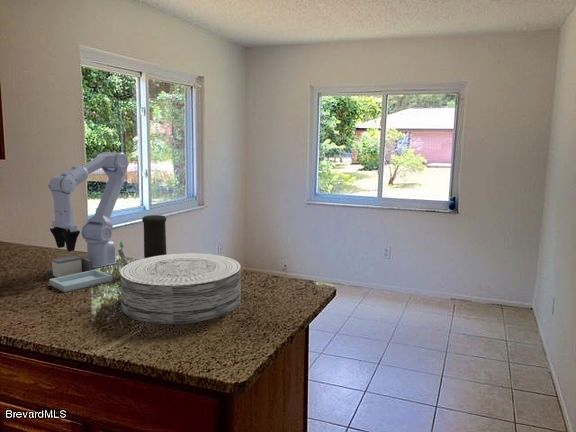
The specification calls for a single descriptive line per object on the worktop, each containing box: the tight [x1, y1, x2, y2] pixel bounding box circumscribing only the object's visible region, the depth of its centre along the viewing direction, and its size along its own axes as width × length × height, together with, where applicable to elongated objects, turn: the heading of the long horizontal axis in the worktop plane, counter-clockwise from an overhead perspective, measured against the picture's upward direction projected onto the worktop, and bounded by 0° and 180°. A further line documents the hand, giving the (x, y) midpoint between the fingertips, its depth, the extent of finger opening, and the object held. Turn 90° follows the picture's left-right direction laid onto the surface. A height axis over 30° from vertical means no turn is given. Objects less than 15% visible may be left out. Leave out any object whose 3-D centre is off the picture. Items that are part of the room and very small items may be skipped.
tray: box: [48, 269, 113, 293], centre depth 156 cm, size 16×11×2 cm
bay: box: [44, 254, 93, 275], centre depth 166 cm, size 11×13×5 cm
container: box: [141, 214, 168, 259], centre depth 173 cm, size 9×9×20 cm
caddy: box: [51, 254, 82, 278], centre depth 165 cm, size 8×5×6 cm, turn 139°
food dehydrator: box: [117, 241, 242, 325], centre depth 139 cm, size 38×34×18 cm
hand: (65, 249), depth 164 cm, fingers open, 7 cm apart
